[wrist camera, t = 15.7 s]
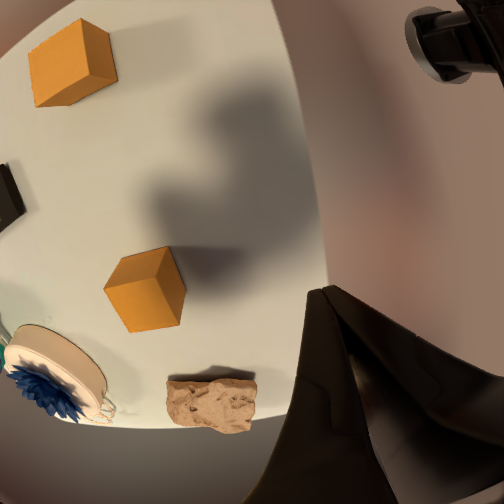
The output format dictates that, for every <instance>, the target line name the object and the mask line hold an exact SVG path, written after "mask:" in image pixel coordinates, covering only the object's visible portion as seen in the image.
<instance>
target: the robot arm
mask: <svg viewBox="0 0 504 504" xmlns="http://www.w3.org/2000/svg"><path fill="white" fill-rule="evenodd" d="M456 1H457V2H458V4H459V5H461V7H462V8H463V10H462V11H457V12H453V13H452V12H451V11H443V12H436V13H430V14H425V15H419V16H415V17H413V18H412V22H413V24H414V26H415V27H416V29H417V31H418V33H419V34H420V36H421V38H422V40H423V42H424V44H425V46H426V48H427V50H428V52H429V54H430V56H431V58H432V60H433V62H434V64H435V67H436V69H437V71H438V73H439V76H440V78H441V80H442V81H443V82H449V81H452V80H454V79H456V78H459V77H461V76H463V75H466V74H468V73H471V72H483V73H498V75H499V77H500V80H501V82H502V85H503V87H504V0H456ZM417 21H418V22H417ZM296 374H297V376H296V378H295V384H294V389H293V394H292V398H291V403H290V406H289V409H288V412H287V416H286V418H285V422H284V424H283V427H282V429H281V432H280V434H279V437H278V439H277V442H276V445H275V447H274V449H273V452H272V454H271V456H270V459H269V461H268V463H267V465H266V467H265V469H264V471H263V473H262V475H261V476H260V478H259V480H258V481H257V483H256V484H255V486H254V487H253V488H252V489H251V491H250V492H249V493H248V495H247V496H246V497H245V498H244V499H243V501H242V502H241V503H240V504H504V377H502V376H497V375H493V374H491V373H489V372H486V371H484V370H482V369H480V368H478V367H476V366H474V365H472V364H470V363H467V362H465V361H463V360H461V359H459V358H457V357H455V356H453V355H451V354H449V353H447V352H445V351H443V350H441V349H440V348H438V347H436V346H435V345H433V344H431V343H429V342H428V341H426V340H424V339H423V338H421V337H420V336H417V337H416V334H415V333H413V332H411V331H410V330H408V329H406V328H405V327H403V326H402V325H400V324H398V323H396V322H395V321H393V320H392V319H390V318H389V317H387V316H385V315H384V314H382V313H380V312H378V311H377V310H375V309H374V308H372V307H370V306H369V305H367V304H365V303H364V302H362V301H361V300H359V299H357V298H356V297H354V296H352V295H350V294H349V293H347V292H346V291H344V290H342V289H341V288H339V287H337V286H335V285H330V286H326V287H323V288H322V289H315V290H311V291H309V292H308V294H307V303H306V311H305V319H304V327H303V334H302V341H301V348H300V354H299V361H298V367H297V373H296ZM367 426H368V427H367ZM368 428H369V431H370V433H371V435H372V438H373V440H374V443H375V445H376V447H377V450H378V452H379V455H380V457H381V460H382V462H383V464H384V467H385V470H386V473H387V475H388V478H389V481H390V483H391V486H392V488H393V490H392V488H391V486H390V484H389V482H388V480H387V479H386V476H385V474H384V473H383V470H382V468H381V466H380V464H379V463H378V460H377V458H376V456H375V453H374V451H373V448H372V444H371V440H370V436H369V431H368ZM393 491H394V492H393ZM0 504H8V503H6V502H4V501H2V500H1V499H0Z"/></svg>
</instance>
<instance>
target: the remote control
mask: <svg viewBox="0 0 504 504" xmlns="http://www.w3.org/2000/svg"><path fill="white" fill-rule="evenodd" d="M22 214H23V207H22V200H21V197H20V194H19V191H18V189H17V186H16V184H15V181H14V179H13V177H12V175H11V173H10V172H9V171H8V169H7V168H6V167H5V165H4V164H1V165H0V232H1V231H2V230H3V229H5V228H6V227H7V226H8V225H9V224H11V223H12V222H13V221H14V220H16V219H17V218H18V217H19V216H21V215H22Z"/></svg>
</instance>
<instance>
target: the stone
mask: <svg viewBox="0 0 504 504" xmlns="http://www.w3.org/2000/svg"><path fill="white" fill-rule="evenodd" d="M166 384H167V391H168V393H167V394H168V397H167V401H166V405H167V411H168V414H169V416H170V417H171V419H172V420H173V422H174V423H176V424H179V425H182V426H207V427H212V428H214V429H215V430H217V431H219V432H222V433H225V434H229V433H238V432H242V431H244V430H248V431H249V430H250V428H251V422H252V421H251V418H252V417H253V416H254V414H255V402H254V399H255V397H256V394H257V384H256V383H255V382H254V381H251V380H250V381H249V380H237V379H218V380H214V381H212V382H211V383H210V382H199V383H198V382H192V381H188V382H176V381H167V382H166Z"/></svg>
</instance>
